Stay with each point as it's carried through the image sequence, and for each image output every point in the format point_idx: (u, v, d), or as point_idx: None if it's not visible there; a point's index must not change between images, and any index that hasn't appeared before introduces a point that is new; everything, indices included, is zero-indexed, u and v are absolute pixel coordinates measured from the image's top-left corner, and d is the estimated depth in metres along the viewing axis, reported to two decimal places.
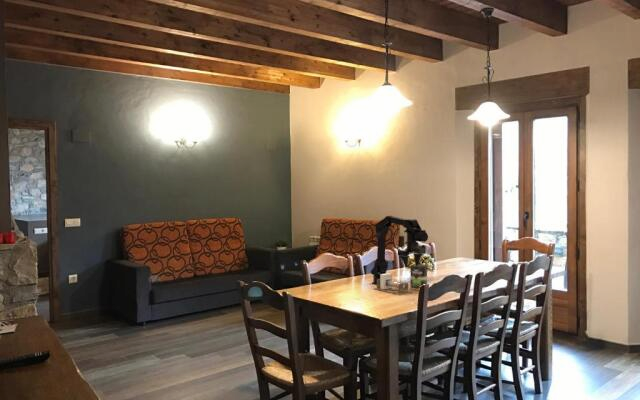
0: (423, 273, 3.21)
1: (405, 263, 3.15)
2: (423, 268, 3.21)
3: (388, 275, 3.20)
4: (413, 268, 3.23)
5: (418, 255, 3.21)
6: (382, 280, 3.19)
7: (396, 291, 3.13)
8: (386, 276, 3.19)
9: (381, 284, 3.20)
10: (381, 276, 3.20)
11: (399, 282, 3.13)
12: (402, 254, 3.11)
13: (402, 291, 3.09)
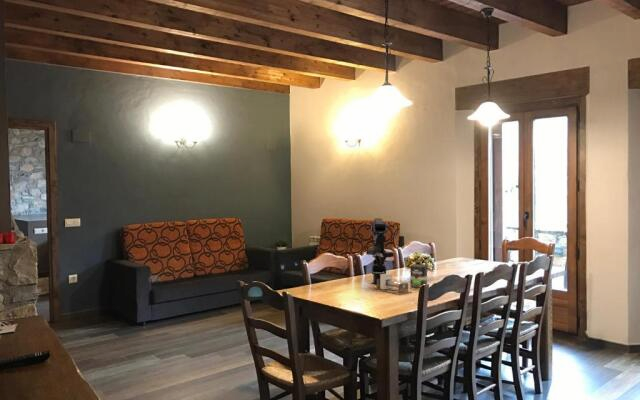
0: (423, 273, 3.21)
1: None
2: (423, 268, 3.21)
3: (388, 275, 3.20)
4: (413, 268, 3.23)
5: None
6: (382, 280, 3.19)
7: (396, 291, 3.13)
8: (386, 276, 3.19)
9: (381, 284, 3.20)
10: (381, 276, 3.20)
11: (399, 282, 3.13)
12: None
13: (402, 291, 3.09)
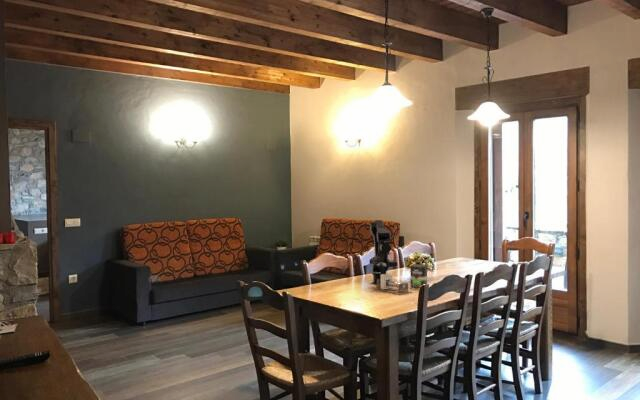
0: (423, 273, 3.21)
1: None
2: (423, 268, 3.21)
3: (388, 275, 3.20)
4: (413, 268, 3.23)
5: None
6: (382, 280, 3.19)
7: (396, 291, 3.13)
8: (386, 276, 3.19)
9: (381, 284, 3.20)
10: (381, 276, 3.19)
11: (399, 282, 3.13)
12: None
13: (402, 291, 3.09)
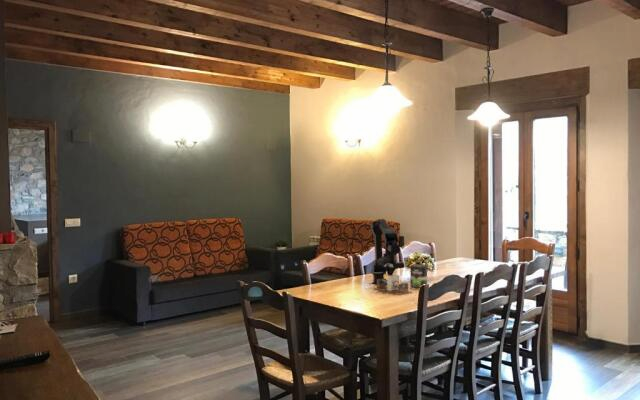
0: (423, 273, 3.21)
1: None
2: (423, 268, 3.21)
3: (395, 276, 3.16)
4: (413, 268, 3.23)
5: None
6: (389, 281, 3.14)
7: (396, 291, 3.13)
8: (393, 277, 3.15)
9: (388, 285, 3.15)
10: (388, 277, 3.15)
11: (399, 282, 3.13)
12: None
13: (402, 291, 3.09)
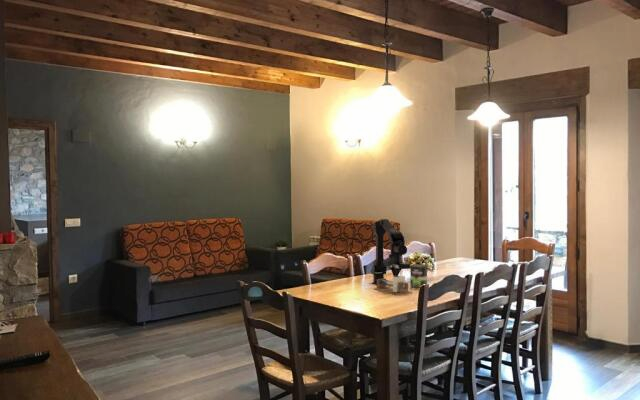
0: (423, 273, 3.21)
1: None
2: (423, 268, 3.21)
3: (401, 277, 3.12)
4: (413, 268, 3.23)
5: None
6: (395, 283, 3.11)
7: None
8: (399, 278, 3.11)
9: (394, 287, 3.12)
10: (394, 278, 3.11)
11: (399, 282, 3.13)
12: None
13: (402, 291, 3.09)
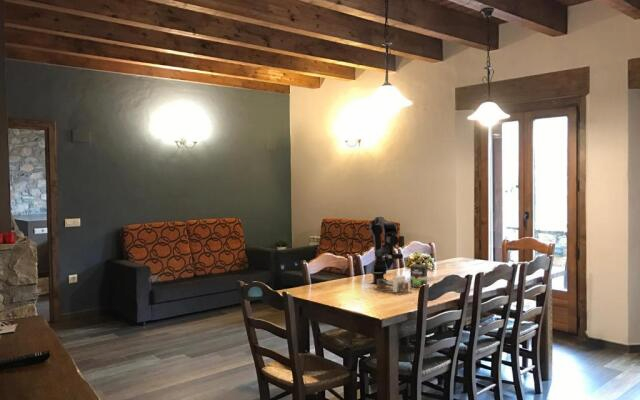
0: (423, 273, 3.21)
1: None
2: (423, 268, 3.21)
3: (401, 277, 3.12)
4: (413, 268, 3.23)
5: None
6: (395, 283, 3.11)
7: None
8: (399, 278, 3.11)
9: (394, 287, 3.11)
10: (394, 278, 3.11)
11: (399, 282, 3.13)
12: None
13: (402, 291, 3.09)
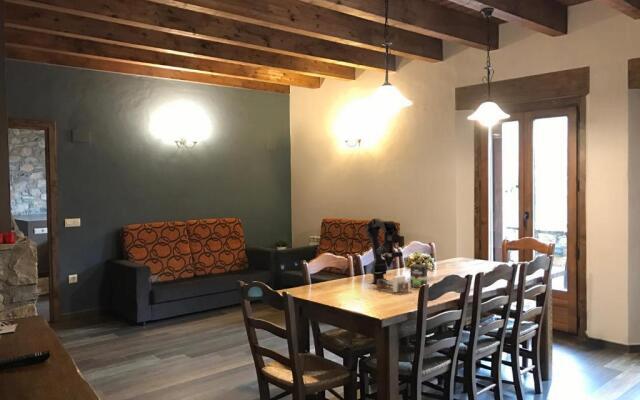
0: (423, 273, 3.21)
1: None
2: (423, 268, 3.21)
3: (401, 277, 3.12)
4: (413, 268, 3.23)
5: None
6: (395, 283, 3.11)
7: None
8: (399, 278, 3.11)
9: (394, 287, 3.11)
10: (394, 278, 3.11)
11: (399, 282, 3.13)
12: None
13: (402, 291, 3.09)
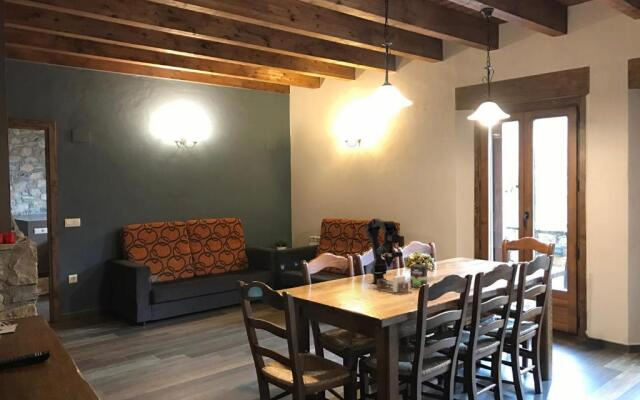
0: (423, 273, 3.21)
1: None
2: (423, 268, 3.21)
3: (401, 277, 3.12)
4: (413, 268, 3.23)
5: None
6: (395, 283, 3.11)
7: None
8: (399, 278, 3.11)
9: (394, 287, 3.11)
10: (394, 278, 3.11)
11: (399, 282, 3.13)
12: None
13: (402, 291, 3.09)
